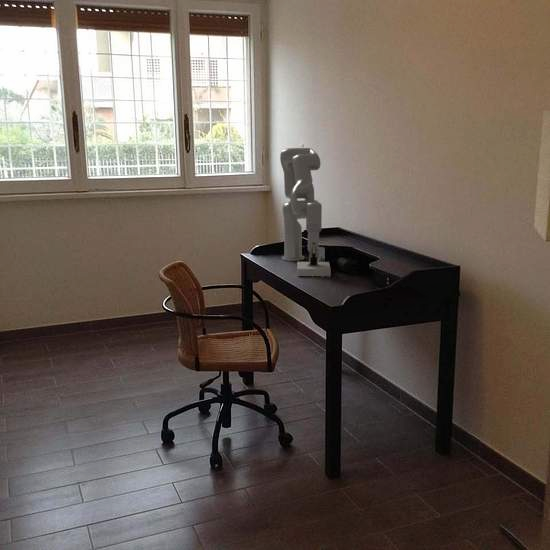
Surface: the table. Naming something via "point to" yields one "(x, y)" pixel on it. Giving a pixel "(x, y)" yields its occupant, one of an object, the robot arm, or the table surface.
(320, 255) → the grey block
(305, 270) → the socket block
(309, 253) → the square peg
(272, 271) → the table surface
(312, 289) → the table surface
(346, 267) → the end cap
